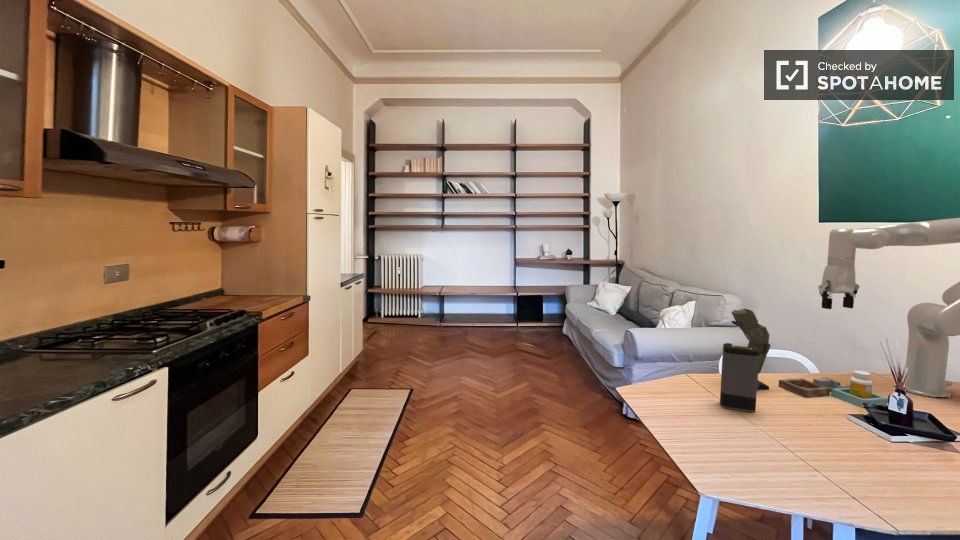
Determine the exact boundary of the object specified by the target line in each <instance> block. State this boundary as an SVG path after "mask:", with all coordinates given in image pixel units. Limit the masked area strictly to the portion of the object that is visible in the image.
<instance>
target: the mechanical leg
mask: <svg viewBox="0 0 960 540" xmlns="http://www.w3.org/2000/svg"><path fill="white" fill-rule="evenodd" d="M731 314H732V316H733V319H734V320H732V321H731V324H733V325H734V326H737V327H738V328H739V329H740V330H741V331H742V332H743V334H744V336H745V338H746V339H747V340H748V344H747V346H748V345H751V346H755V347H757V348H758V349H759V367H758V375H759V374H760V373H761V372H762V368H763V366H764V363H765V360H766V358H767V355H768V353H769V350H770V349H771V344H770V343H769V342H770V333H769V331H768V329H767V327H766V326H765V325H764V326H763V325H762V324H760V323H759V320H758V319H757V317H756V315H755V313H754V311H752V310H751V309H750V308H749V309H748V308H745V307H744V308H743V309H734V310H732V311H731ZM757 390H761V391H763V390H766V391H767V390H768V391H769V390H770V386H769V385H767V384H765V383H764V382H763V381H760V380H758V382H757Z"/></svg>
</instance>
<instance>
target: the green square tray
mask: <svg viewBox="0 0 960 540" xmlns="http://www.w3.org/2000/svg"><path fill="white" fill-rule="evenodd" d="M849 390H850V387H848V388H834V389H831V392H830V397H833V398H836V399H839V400H841V401H844V402H846V403H848V404H852V405H854V406H856V407H859V408H862V409H864V408H863V403H872V404H879V405H887V403H888V399H889V400H890V397H889V398H888V397H886V396H883V395H879V394H877V393H874V392H872V397H871V398H866V399H862V398H859V397H857V396H854V395H851V394H849Z"/></svg>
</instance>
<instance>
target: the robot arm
mask: <svg viewBox="0 0 960 540" xmlns="http://www.w3.org/2000/svg"><path fill="white" fill-rule="evenodd" d="M950 244H960V217H953V218H952V217H951V218H945V219H943V218H942V219H935V220H934V219H932V220H923V221H913V222H908V223H902V224H894V225H893V224H891V225H885V226H883V225H882V226H875V227H873V226H872V227H864V228H863V227H862V228H857V229H854V228H836V229H835V228H834V229H832V230H830V232H829V236H828V248H827V249H828V250H827V261H826V262H827V263H826V266H825V267H824V269H823V274H822V280H821V284H820V285H818V286H817V289H818V293H819V294H820V298H822V299H821V308H822V309H825V310H826V309H827V310H832V309H833V308H832V307H833V298H832V297H833V296H834V295H835V294H843V295H844V296H843V298H842V299H843V301H842V307H843V308H845V309H847V308H848V309H854V304H855V303H854V301H855V298H856V295H857V293H858V291H859V289H860V285H859V284H857V283H856V268H855V266H856V254H857V249H861V250H863V249H865V250H878V249H881V248H884V247H892V246H893V247H898V246H899V247H900V246H903V247H905V246H906V247H924V246H925V247H927V246H936V245H938V246H939V245H950ZM941 299H942V302H943V303H944V304H945V305H943V304H938V303H934V302H921V303H917V304H915V305H913V306H912V307H911V308H910V309H909V310H908V313H907V319H906V320H907V321H906V322H907V326H908V338H907V347H906V348H907V351H906V357H905V358H906V360H905V361H906V362H905V370H906V368H907V367H908V374H907V379H906V382H905V388H906V390H907V391H906V392H909V393H910V394H915V395H918V396H922V397H923V396H924V397H928V396H930V397H931V398H935V397H949V396H950V397H951V395H952V393H951V392H950V391H948V390H947V389H946V387H952V386H953V385H954V384H953V382H952V381H951V380H946V377H947V367H948V358H949V350H950V339H949V337H958V336H960V281H958V282H957V283H955V284H953V285H951V286H950V287H948V288H947V289H946V290H945V291H944V292H943V293H942V296H941ZM930 397H929V398H930ZM950 397H949V398H950Z"/></svg>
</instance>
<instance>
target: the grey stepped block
mask: <svg viewBox="0 0 960 540" xmlns="http://www.w3.org/2000/svg"><path fill="white" fill-rule="evenodd" d="M812 379H813V380H812V382H813V383H816V384H819V385H821V386H824V387H837V382H838V380H836V379H832V378H829V377H826V376H822V377H820V378H812Z"/></svg>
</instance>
